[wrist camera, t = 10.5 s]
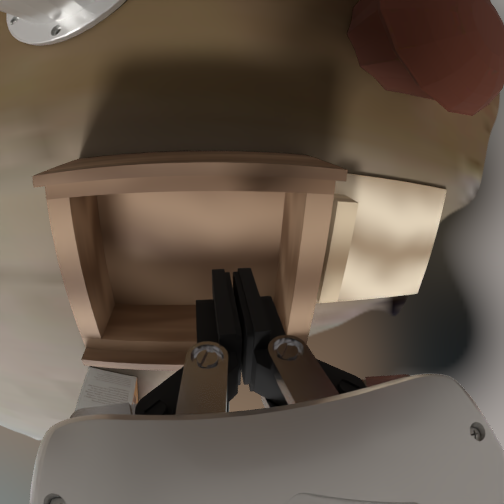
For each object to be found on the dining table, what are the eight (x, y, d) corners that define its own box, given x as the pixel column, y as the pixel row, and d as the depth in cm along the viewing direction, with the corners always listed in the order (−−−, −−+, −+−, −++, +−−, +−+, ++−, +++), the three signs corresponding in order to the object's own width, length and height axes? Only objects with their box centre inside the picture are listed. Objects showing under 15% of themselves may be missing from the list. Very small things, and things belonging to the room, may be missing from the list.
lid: (308, 168, 20) (324, 176, 17) (441, 187, 22) (462, 196, 19) (291, 299, 24) (300, 320, 22) (413, 289, 27) (428, 305, 24)
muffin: (409, 138, 19) (507, 163, 10) (303, 46, 15) (383, -4, 6) (456, 52, 16) (538, 51, 7) (371, -33, 12) (444, -75, 3)
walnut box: (78, 158, 16) (32, 176, 11) (307, 155, 19) (347, 170, 13) (104, 313, 22) (84, 365, 16) (288, 310, 24) (309, 362, 19)
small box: (140, 413, 28) (134, 488, 19) (97, 404, 27) (83, 476, 18) (138, 375, 25) (126, 465, 16) (88, 364, 24) (63, 448, 15)
